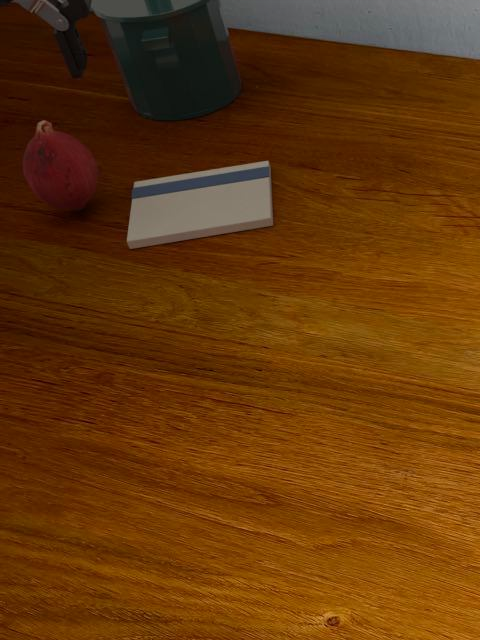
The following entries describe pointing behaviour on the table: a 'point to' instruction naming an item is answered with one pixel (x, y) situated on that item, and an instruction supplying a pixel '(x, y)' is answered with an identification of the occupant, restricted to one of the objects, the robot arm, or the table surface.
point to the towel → (200, 204)
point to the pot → (176, 63)
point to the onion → (60, 168)
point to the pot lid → (142, 9)
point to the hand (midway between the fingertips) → (24, 83)
